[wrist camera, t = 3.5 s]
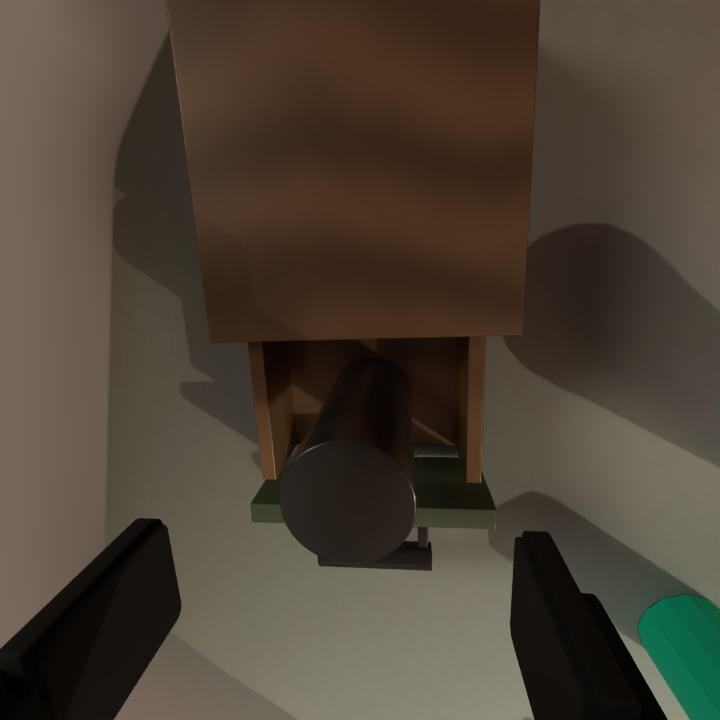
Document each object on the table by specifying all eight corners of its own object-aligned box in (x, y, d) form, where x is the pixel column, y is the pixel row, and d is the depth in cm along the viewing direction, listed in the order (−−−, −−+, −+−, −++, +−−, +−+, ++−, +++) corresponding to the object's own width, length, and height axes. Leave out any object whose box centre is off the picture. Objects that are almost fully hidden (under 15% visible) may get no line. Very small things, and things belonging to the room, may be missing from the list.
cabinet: (487, 314, 25) (523, 335, 18) (263, 321, 27) (210, 343, 19) (496, 26, 22) (546, -101, 14) (237, 54, 23) (158, -46, 16)
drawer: (474, 530, 28) (493, 597, 22) (287, 524, 29) (259, 586, 24) (482, 251, 24) (507, 247, 18) (261, 261, 25) (220, 260, 19)
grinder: (337, 429, 26) (284, 562, 14) (332, 358, 25) (272, 440, 13) (410, 429, 25) (417, 567, 14) (409, 356, 24) (416, 440, 13)
